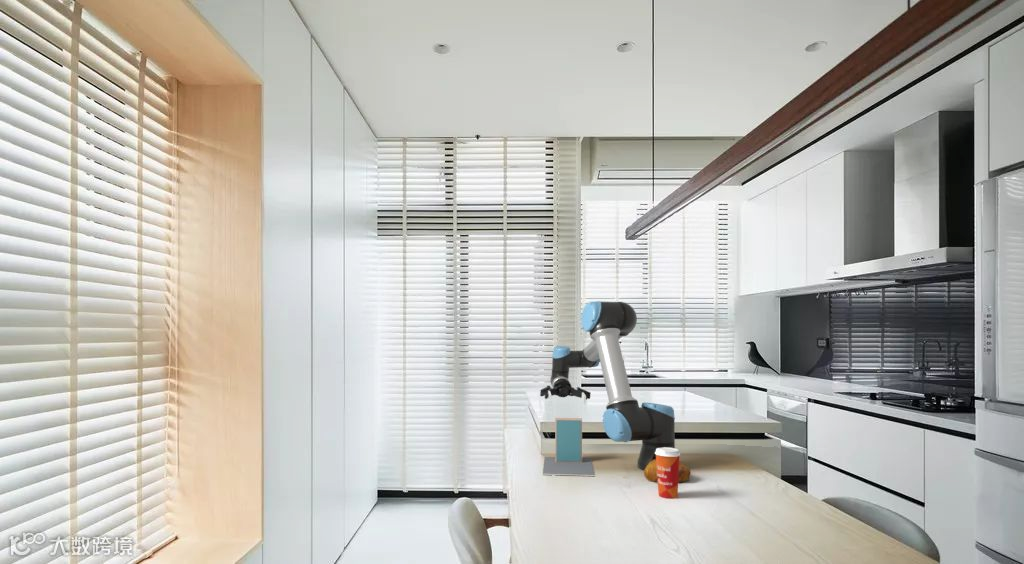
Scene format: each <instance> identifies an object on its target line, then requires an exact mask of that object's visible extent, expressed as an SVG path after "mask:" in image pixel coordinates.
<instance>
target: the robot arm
mask: <svg viewBox="0 0 1024 564" xmlns="http://www.w3.org/2000/svg"><path fill="white" fill-rule="evenodd" d="M637 320H638V318H637V313H636V311H635V309H634V308H633V307H632V306H631V305H630V304H629V303H626V302H623V301H600V300H597V301H589V302H587V303H586V304H585V306H584V307H583V309H582V312H581V317H580V324H581V328H582V329H583V331H584V332H586V333H587V332H588V333H589V336H590V339H591V341H590V342H589V343H588V345H586V346H585V348H583V349H582V350H571V348H570V346H566V345H555V346H554V347H553V351H552V361H551V362H552V366H551V367H552V368H551V376H550V385H547V386H546V387H543V388H542V389H540V391H539V392H540V393H539V396H540V397H544V399H545V400H548V402H552V396H557V397H559V398H566V397H568V396H569V397H575V398H580V399H581V401H582V403H583V404H587V400H590V399H591V392H590V391H588V390H585V389H583V388H581V387H579V386H577V387H576V388H575V387H572V384H571V382H570V380H569V373H570V369H571V368H572V369H573V368H575V369H576V368H577V369H578V368H588V369H589V368H596V367H598V366H599V365H600V366H601V371H602V372H601V373H602V375H603V376H602V377H603V381H604V385H605V388H606V393H607V398H608V402H607V405H606V406H605V408H606V410H604V411H603V415H602V418H603V419H602V425H603V429H604V432H605V434H606V435H607V437H608V438H609V439H610V440H612V441H614V442H615V443H628V442H633V441H634V442H635V441H636V442H637V441H641V443H642V444H641V448H640V451H639V456H638V458H637V468H639V469H640V470H642V471H644V470H645V468H646V466H647V465H648V463H649V462H651V461H652V460H654V459H656V454H655V452H656V449H657V448H664V447H668V448H675V449H676V446H675V445H676V442H675V432H676V431H675V419H676V418H675V409H674V408H673V407H672V406H671V405H667V404H661V403H653V402H642V403H641V407H640V406H639V402H638V399H636V398H634V397H633V395H632V394H633V393H632V390H631V386H630V383H629V378H628V374H627V370H626V366H625V362H624V357H623V354H622V350H621V349H622V348H621V344H620V342H619V340H620V339H622V338H623V337H627V336H628V335H629V334H630V333H632V331H634V329H635V327H636V325H637V322H638V321H637Z"/></svg>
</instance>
